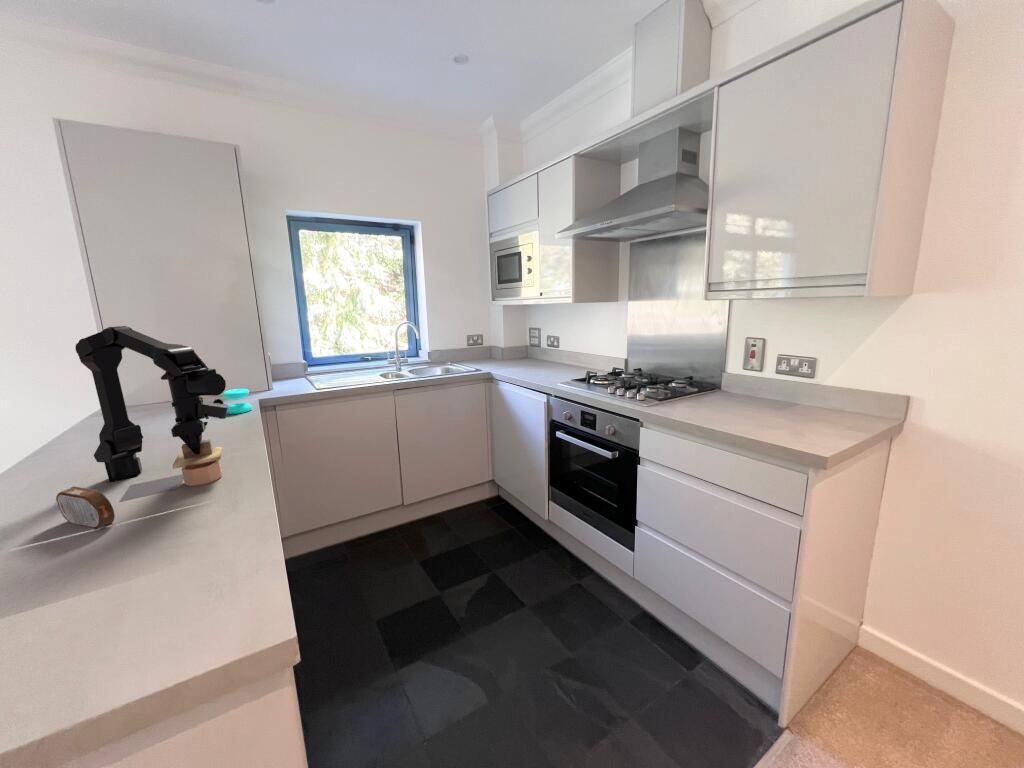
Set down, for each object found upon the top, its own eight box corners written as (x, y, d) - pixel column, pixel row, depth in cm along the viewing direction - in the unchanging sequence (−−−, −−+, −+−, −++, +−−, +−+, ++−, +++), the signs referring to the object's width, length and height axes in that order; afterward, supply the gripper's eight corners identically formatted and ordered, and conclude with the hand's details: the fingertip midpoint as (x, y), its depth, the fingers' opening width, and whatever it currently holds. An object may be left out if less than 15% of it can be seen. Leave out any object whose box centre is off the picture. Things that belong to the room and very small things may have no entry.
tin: (119, 525, 93) (110, 489, 91) (102, 533, 90) (91, 496, 88) (78, 517, 98) (68, 483, 96) (60, 524, 95) (49, 489, 93)
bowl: (184, 490, 109) (180, 472, 108) (188, 480, 116) (184, 463, 115) (221, 482, 113) (217, 464, 112) (223, 472, 120) (219, 455, 119)
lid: (173, 468, 107) (169, 452, 106) (178, 457, 115) (175, 442, 114) (220, 459, 112) (217, 443, 111) (222, 448, 120) (219, 434, 119)
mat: (119, 503, 104) (118, 502, 103) (130, 486, 114) (130, 485, 114) (180, 489, 110) (179, 488, 109) (186, 474, 120) (185, 473, 120)
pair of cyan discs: (237, 392, 185) (216, 393, 186) (241, 414, 187) (221, 415, 188) (253, 387, 194) (234, 388, 196) (257, 408, 196) (238, 409, 198)
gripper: (220, 396, 106) (232, 455, 109) (224, 385, 122) (234, 437, 125) (164, 404, 100) (178, 466, 104) (176, 391, 116) (188, 445, 119)
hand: (198, 452), depth 113 cm, fingers closed on lid, 2 cm apart
